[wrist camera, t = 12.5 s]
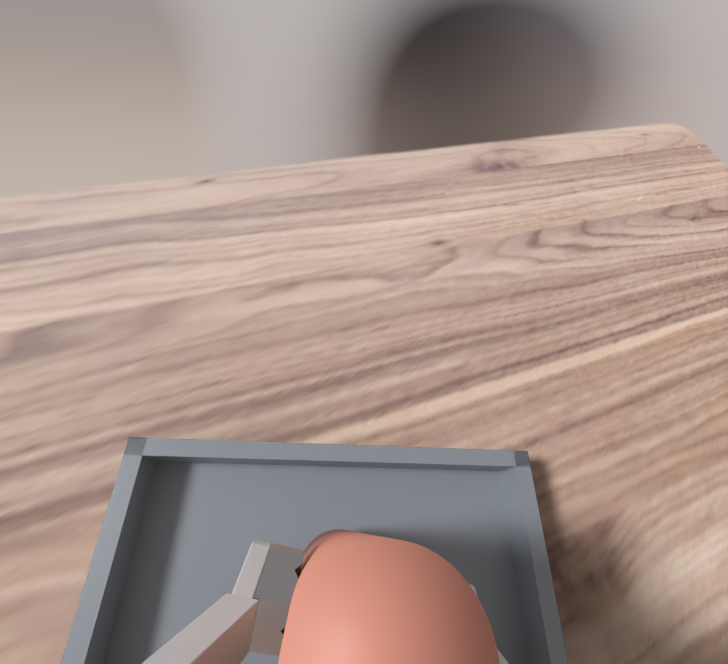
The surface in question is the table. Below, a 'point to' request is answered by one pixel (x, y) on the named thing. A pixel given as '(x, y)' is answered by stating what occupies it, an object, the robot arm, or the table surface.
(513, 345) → the table surface
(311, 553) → the sausage
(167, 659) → the robot arm
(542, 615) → the tray
